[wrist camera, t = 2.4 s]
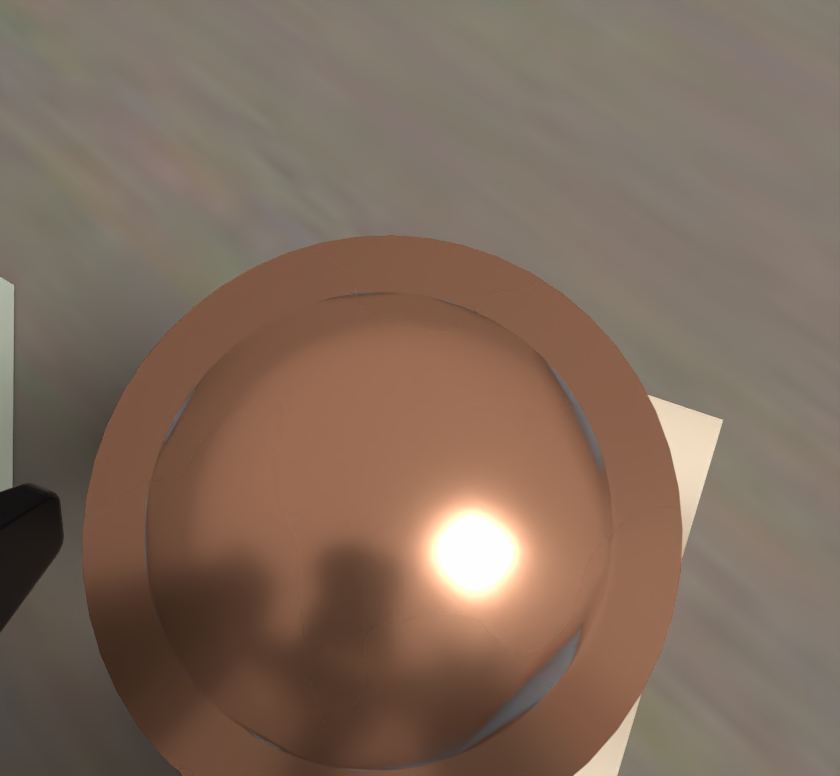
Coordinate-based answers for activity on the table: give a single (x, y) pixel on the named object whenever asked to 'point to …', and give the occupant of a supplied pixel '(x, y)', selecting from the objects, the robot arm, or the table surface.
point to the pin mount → (691, 460)
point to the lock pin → (382, 523)
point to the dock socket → (6, 383)
